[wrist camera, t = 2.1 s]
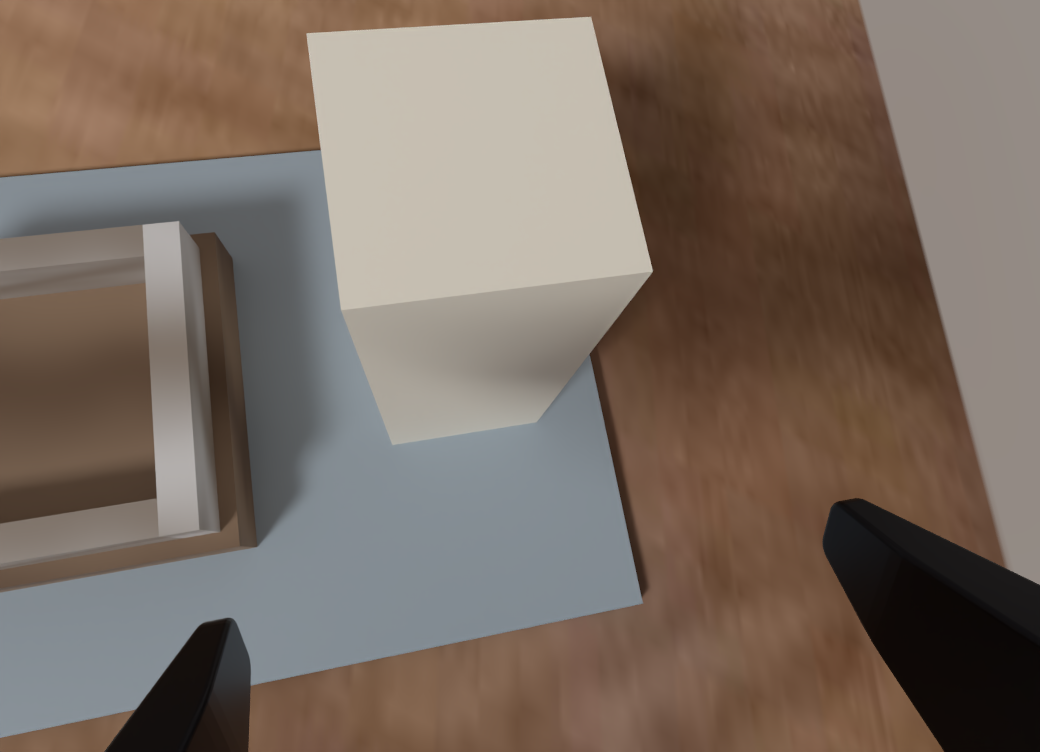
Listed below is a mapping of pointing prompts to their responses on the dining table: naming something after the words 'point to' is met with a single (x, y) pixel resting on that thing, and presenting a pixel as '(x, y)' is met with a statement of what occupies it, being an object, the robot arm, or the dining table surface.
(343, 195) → the cream post
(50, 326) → the brown open tray
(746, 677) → the dining table surface
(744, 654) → the dining table surface
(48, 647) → the blue-gray board
